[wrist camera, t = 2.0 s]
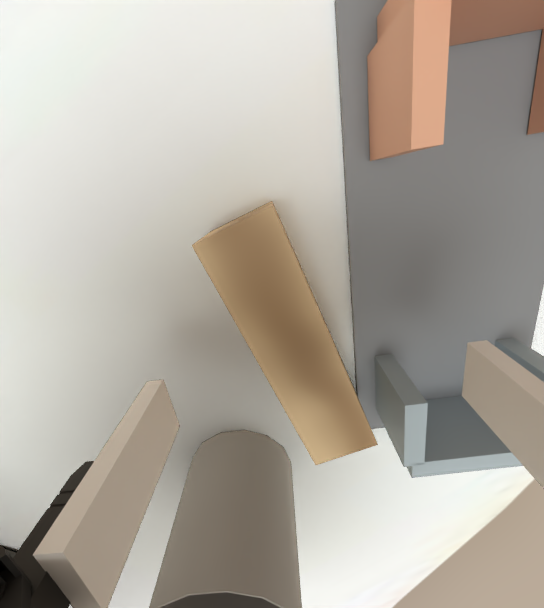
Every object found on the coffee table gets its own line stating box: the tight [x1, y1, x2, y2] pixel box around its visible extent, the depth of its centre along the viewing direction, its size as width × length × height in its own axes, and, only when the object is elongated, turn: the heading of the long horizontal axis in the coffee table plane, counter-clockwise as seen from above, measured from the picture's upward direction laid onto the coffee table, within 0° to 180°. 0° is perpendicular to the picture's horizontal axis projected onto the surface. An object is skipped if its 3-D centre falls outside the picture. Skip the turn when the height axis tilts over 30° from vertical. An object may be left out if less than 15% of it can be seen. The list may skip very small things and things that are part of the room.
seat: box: [335, 0, 544, 478], centre depth 16 cm, size 12×26×5 cm, turn 9°
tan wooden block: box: [192, 201, 378, 465], centre depth 18 cm, size 4×15×5 cm, turn 25°
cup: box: [149, 430, 302, 608], centre depth 20 cm, size 8×8×10 cm
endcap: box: [367, 0, 544, 161], centre depth 11 cm, size 9×6×7 cm, turn 99°
